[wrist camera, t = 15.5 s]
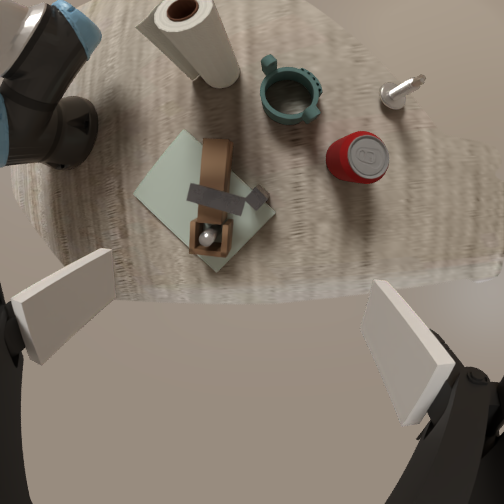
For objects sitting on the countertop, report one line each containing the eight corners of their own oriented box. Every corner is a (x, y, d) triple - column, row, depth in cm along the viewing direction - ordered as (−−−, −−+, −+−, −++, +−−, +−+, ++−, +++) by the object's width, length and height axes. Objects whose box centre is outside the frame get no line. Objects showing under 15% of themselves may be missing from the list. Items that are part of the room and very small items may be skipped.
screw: (395, 85, 35) (403, 110, 36) (372, 86, 36) (380, 112, 37) (431, 62, 23) (443, 95, 24) (403, 61, 24) (415, 95, 25)
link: (204, 141, 40) (195, 138, 35) (240, 143, 40) (235, 139, 35) (198, 244, 45) (189, 253, 40) (231, 248, 45) (226, 257, 40)
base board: (136, 193, 44) (132, 193, 43) (186, 130, 41) (183, 129, 40) (218, 270, 47) (216, 272, 46) (275, 211, 44) (275, 212, 42)
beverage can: (360, 185, 41) (388, 190, 30) (321, 175, 41) (337, 177, 30) (367, 145, 39) (397, 138, 28) (328, 135, 39) (347, 122, 28)
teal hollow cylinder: (310, 131, 40) (319, 121, 31) (253, 117, 40) (248, 103, 31) (321, 83, 37) (332, 63, 28) (266, 69, 37) (264, 46, 28)
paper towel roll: (246, 64, 37) (224, -8, 16) (230, 94, 39) (193, 36, 18) (208, 52, 36) (163, -15, 16) (191, 80, 38) (133, 26, 18)
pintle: (207, 229, 44) (196, 239, 38) (215, 220, 44) (205, 229, 37) (216, 237, 44) (206, 249, 38) (224, 229, 44) (215, 239, 37)
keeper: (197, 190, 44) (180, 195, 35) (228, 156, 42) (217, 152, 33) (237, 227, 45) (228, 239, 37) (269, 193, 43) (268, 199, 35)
